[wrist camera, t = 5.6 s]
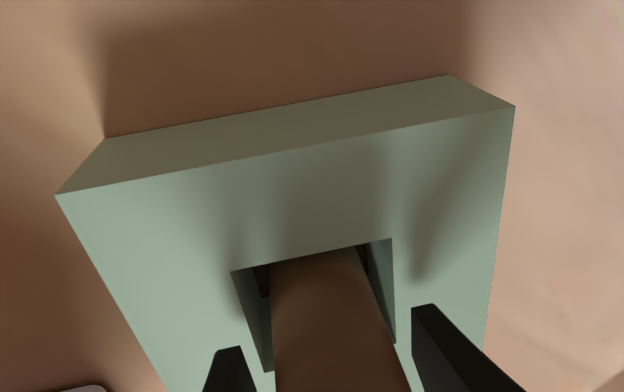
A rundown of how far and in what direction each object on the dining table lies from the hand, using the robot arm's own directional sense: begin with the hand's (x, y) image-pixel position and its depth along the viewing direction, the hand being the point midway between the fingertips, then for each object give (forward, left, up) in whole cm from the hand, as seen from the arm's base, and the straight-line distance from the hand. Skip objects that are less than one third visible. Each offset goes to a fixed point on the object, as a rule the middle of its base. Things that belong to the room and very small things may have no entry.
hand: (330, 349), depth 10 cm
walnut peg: (0, 0, -5) cm, 5 cm away
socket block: (0, 0, -5) cm, 5 cm away
